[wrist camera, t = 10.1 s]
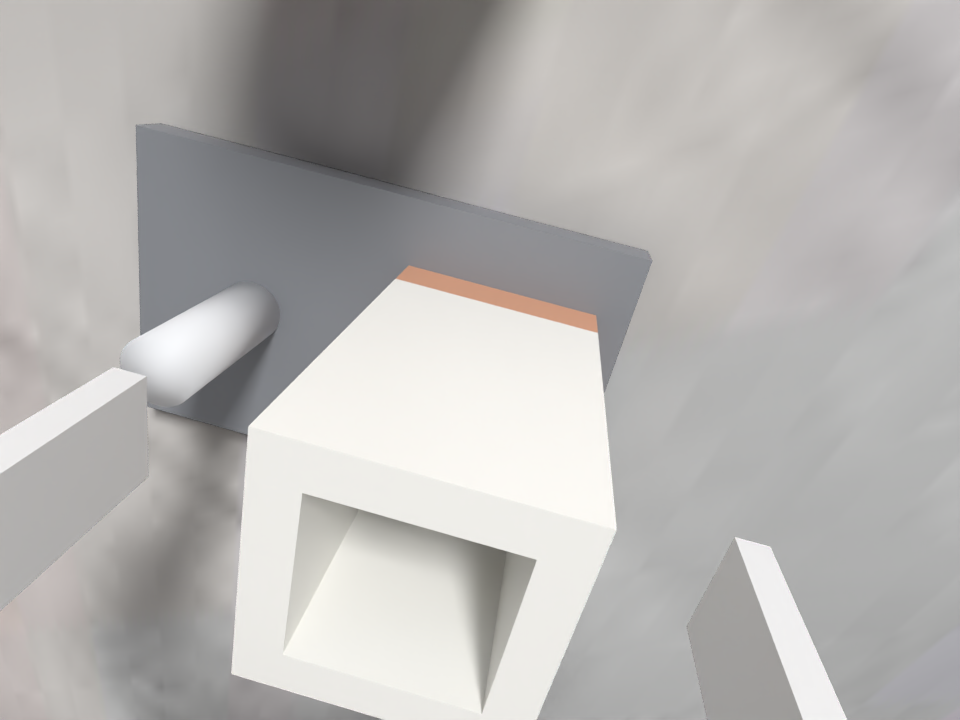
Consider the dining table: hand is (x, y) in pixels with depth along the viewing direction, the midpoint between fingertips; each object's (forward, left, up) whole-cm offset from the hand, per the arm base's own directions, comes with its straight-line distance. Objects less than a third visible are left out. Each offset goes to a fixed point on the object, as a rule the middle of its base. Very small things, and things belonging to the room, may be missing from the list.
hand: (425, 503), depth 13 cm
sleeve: (0, 0, -7) cm, 7 cm away
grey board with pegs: (-4, 0, -8) cm, 9 cm away
